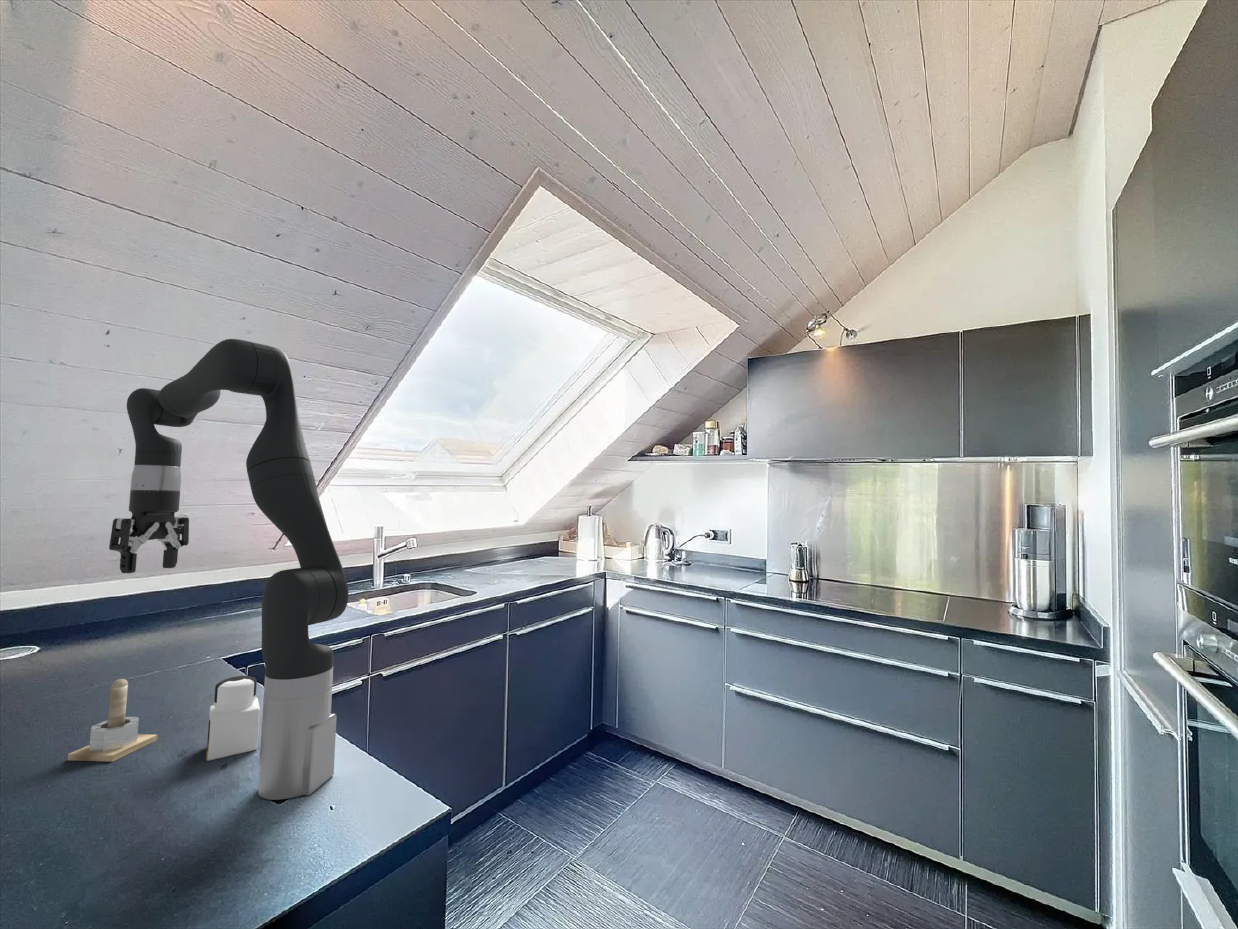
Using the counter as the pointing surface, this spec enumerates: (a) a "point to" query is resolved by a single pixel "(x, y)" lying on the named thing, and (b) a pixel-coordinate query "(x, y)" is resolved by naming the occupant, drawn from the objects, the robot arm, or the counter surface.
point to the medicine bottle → (233, 718)
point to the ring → (113, 735)
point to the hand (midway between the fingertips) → (149, 570)
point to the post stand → (114, 720)
